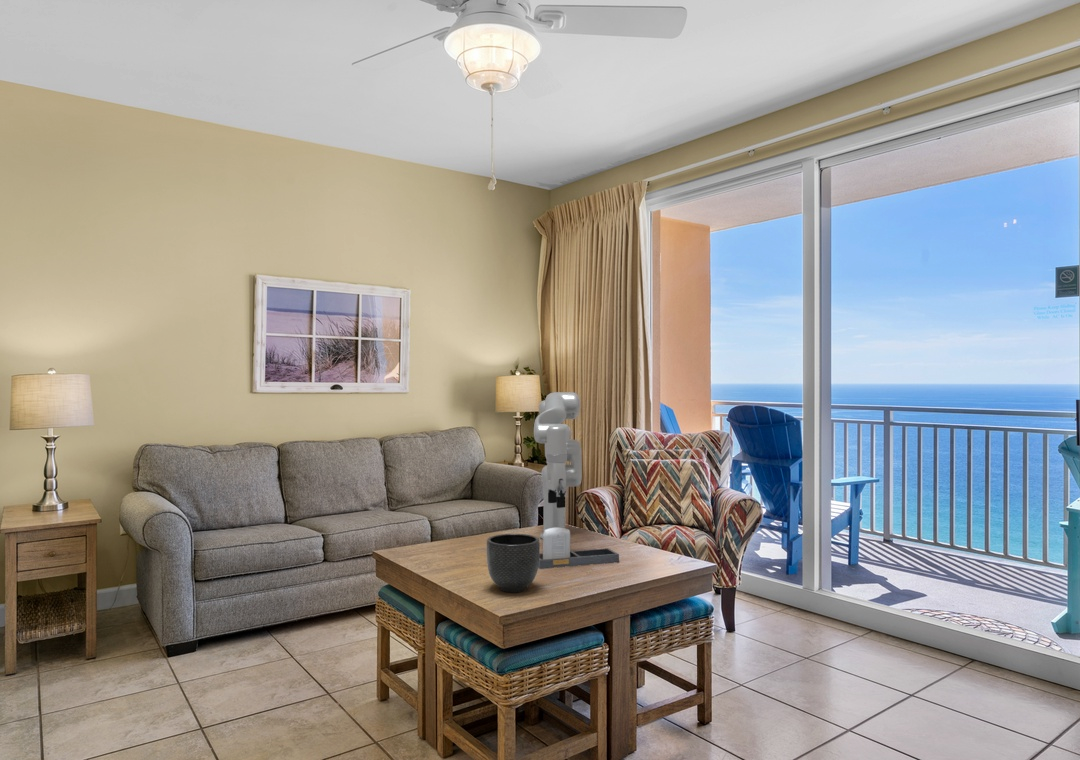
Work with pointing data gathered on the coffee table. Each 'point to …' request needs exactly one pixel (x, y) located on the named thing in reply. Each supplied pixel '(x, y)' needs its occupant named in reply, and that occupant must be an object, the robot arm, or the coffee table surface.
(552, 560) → the divided tray
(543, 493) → the robot arm
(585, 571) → the coffee table surface
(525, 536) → the planter
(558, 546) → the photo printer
